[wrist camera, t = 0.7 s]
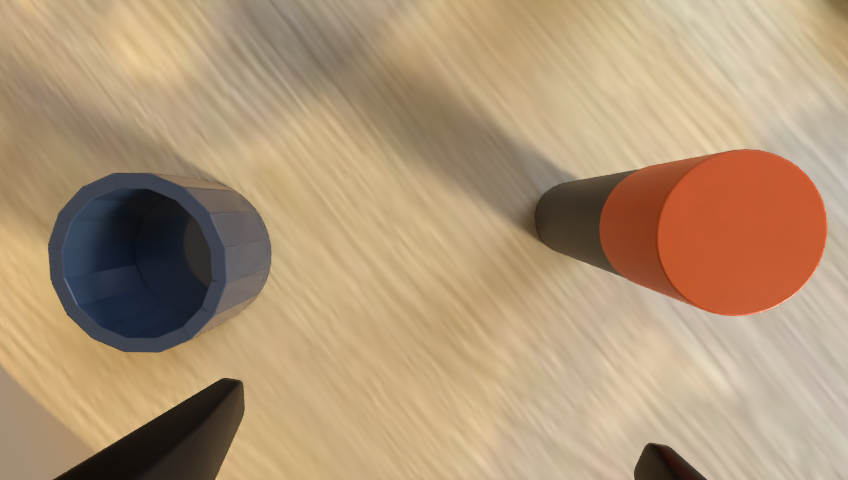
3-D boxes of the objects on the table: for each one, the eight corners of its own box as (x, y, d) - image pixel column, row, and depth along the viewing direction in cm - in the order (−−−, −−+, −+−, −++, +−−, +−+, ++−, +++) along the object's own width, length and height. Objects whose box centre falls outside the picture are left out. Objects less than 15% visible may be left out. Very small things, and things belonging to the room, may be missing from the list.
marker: (607, 255, 22) (820, 317, 10) (532, 254, 22) (651, 315, 10) (609, 180, 22) (835, 148, 10) (534, 181, 22) (660, 149, 10)
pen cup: (273, 322, 23) (229, 353, 18) (136, 320, 24) (55, 351, 19) (269, 180, 23) (221, 172, 18) (127, 180, 23) (41, 172, 18)
